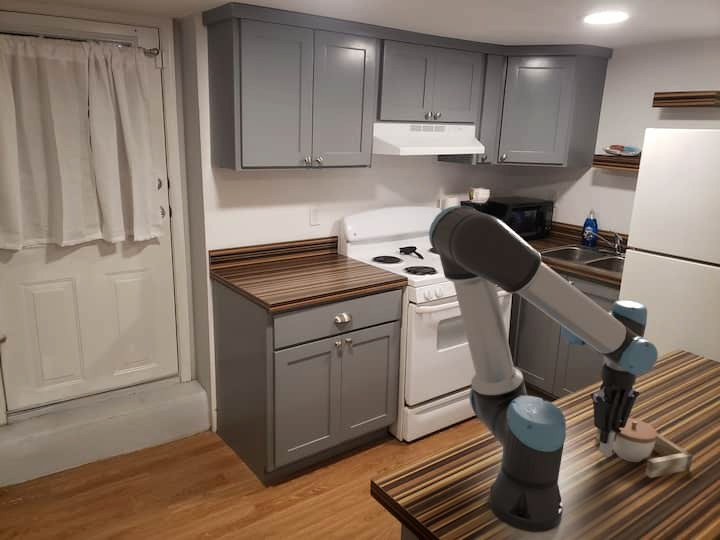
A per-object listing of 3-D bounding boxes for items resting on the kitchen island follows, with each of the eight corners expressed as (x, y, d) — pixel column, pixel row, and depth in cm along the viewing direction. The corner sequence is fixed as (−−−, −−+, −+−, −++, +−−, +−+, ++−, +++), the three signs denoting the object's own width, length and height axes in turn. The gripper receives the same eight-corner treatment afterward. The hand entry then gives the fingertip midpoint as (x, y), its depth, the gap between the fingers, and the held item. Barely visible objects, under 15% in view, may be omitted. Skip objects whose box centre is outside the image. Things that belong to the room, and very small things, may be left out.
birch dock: (650, 477, 134) (653, 463, 133) (596, 438, 150) (598, 425, 149) (689, 469, 138) (692, 455, 137) (632, 432, 154) (635, 419, 153)
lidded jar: (658, 470, 137) (665, 435, 135) (612, 464, 138) (618, 430, 136) (644, 446, 147) (650, 414, 145) (601, 441, 149) (606, 409, 146)
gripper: (610, 374, 128) (594, 466, 134) (653, 369, 132) (637, 458, 138) (587, 361, 135) (573, 449, 141) (629, 356, 139) (614, 441, 145)
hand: (605, 453), depth 139 cm, fingers closed
